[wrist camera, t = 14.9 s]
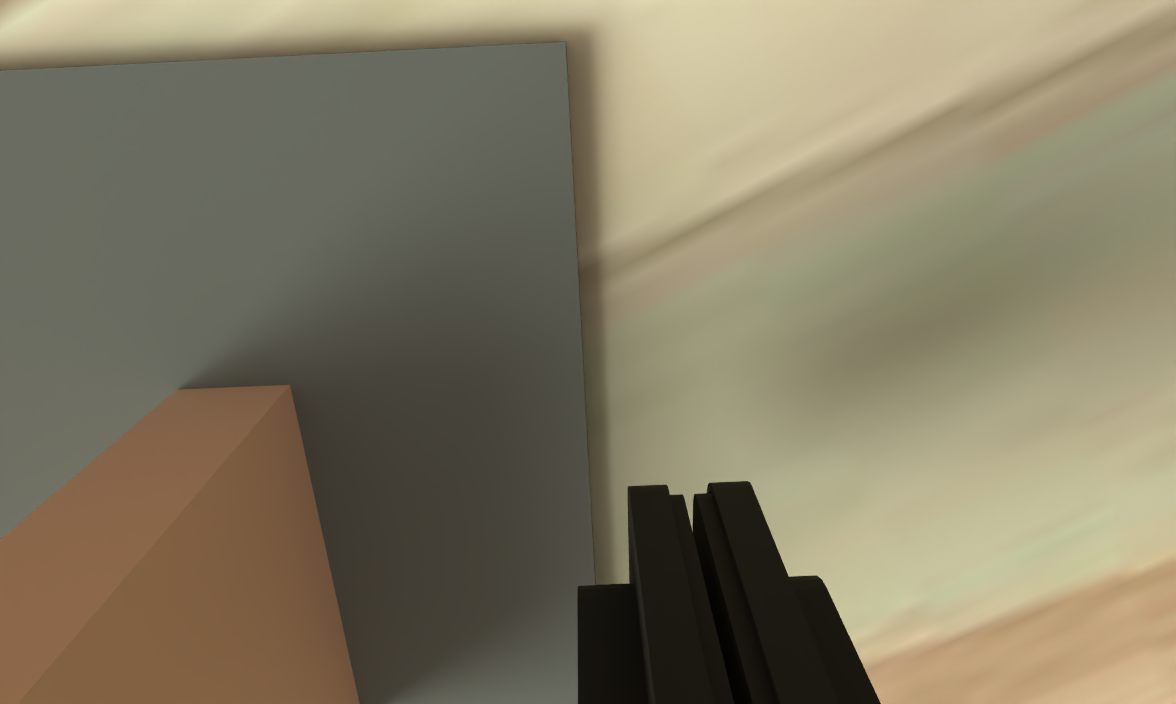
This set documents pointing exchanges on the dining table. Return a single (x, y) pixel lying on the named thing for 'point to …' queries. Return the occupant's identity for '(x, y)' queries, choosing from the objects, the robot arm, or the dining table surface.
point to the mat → (327, 323)
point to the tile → (179, 568)
